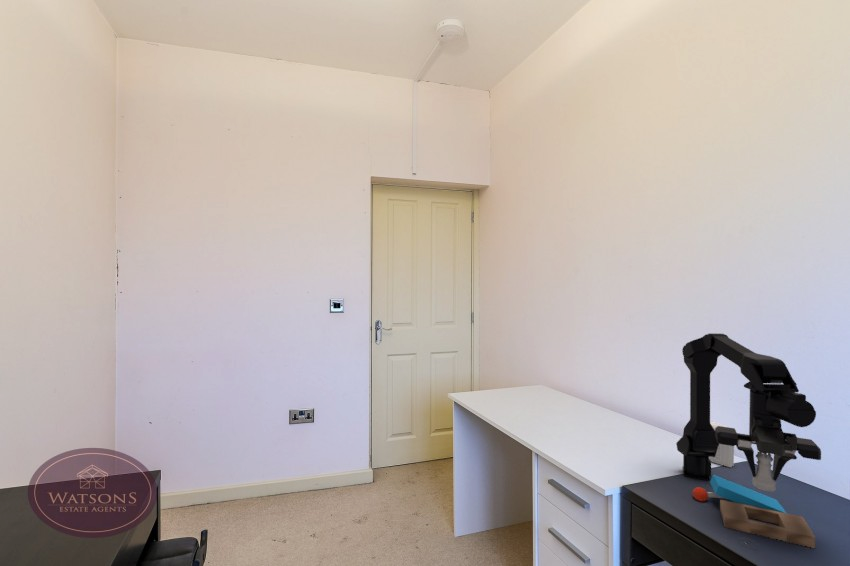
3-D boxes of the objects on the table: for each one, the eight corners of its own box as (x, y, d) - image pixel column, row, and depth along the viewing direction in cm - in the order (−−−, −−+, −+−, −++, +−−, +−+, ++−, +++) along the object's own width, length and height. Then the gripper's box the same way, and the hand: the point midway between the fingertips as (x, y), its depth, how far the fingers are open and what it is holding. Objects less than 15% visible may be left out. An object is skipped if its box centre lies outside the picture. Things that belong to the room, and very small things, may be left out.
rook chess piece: (780, 493, 96) (781, 458, 96) (758, 490, 97) (758, 456, 97) (769, 483, 100) (769, 450, 100) (747, 481, 101) (748, 448, 101)
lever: (767, 524, 108) (688, 491, 115) (776, 500, 107) (697, 467, 114) (776, 539, 102) (693, 503, 109) (787, 513, 101) (702, 478, 108)
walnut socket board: (724, 527, 98) (724, 516, 98) (719, 508, 106) (720, 499, 106) (814, 548, 91) (815, 537, 91) (802, 527, 98) (802, 516, 98)
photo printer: (736, 465, 132) (736, 426, 132) (730, 469, 129) (731, 428, 129) (699, 454, 140) (700, 417, 140) (694, 457, 137) (694, 419, 137)
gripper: (720, 415, 96) (719, 482, 96) (830, 430, 87) (829, 504, 87) (715, 402, 106) (714, 464, 106) (813, 414, 96) (812, 482, 97)
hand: (763, 478), depth 98 cm, fingers closed on rook chess piece, 3 cm apart
